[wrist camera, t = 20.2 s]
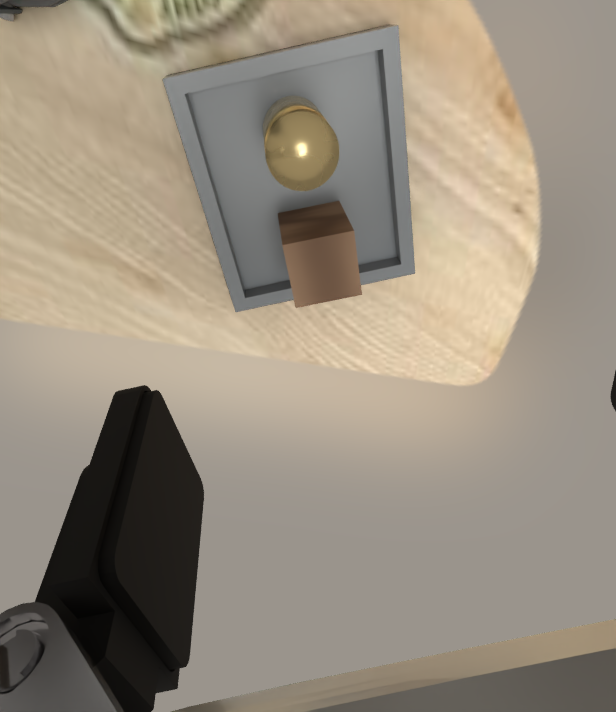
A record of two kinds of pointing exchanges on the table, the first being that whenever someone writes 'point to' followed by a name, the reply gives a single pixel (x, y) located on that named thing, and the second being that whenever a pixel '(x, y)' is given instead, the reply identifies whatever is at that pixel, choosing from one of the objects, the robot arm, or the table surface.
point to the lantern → (3, 1)
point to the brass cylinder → (299, 144)
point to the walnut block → (320, 253)
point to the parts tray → (253, 178)
